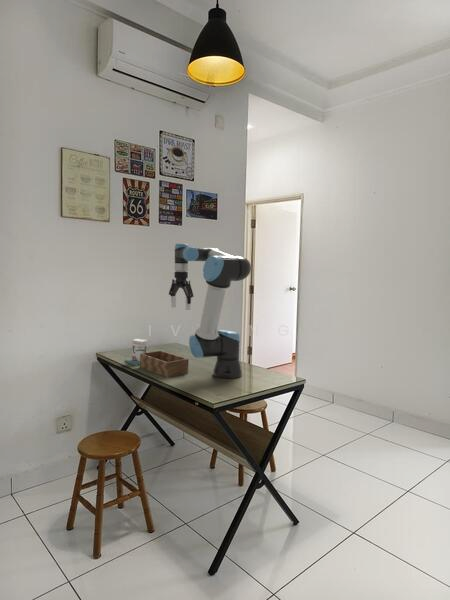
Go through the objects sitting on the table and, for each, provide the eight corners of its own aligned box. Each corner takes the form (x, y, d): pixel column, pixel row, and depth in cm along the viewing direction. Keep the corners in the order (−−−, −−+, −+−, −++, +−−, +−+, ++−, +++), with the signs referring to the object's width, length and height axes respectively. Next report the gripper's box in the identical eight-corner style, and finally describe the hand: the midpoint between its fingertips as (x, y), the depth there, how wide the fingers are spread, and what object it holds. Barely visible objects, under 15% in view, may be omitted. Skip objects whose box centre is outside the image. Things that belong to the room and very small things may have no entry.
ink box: (131, 360, 241) (131, 339, 239) (137, 358, 245) (137, 338, 244) (143, 362, 236) (143, 341, 235) (148, 360, 241) (149, 340, 240)
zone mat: (154, 362, 241) (154, 360, 241) (135, 365, 233) (135, 363, 233) (143, 358, 250) (143, 356, 250) (125, 361, 242) (125, 359, 242)
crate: (188, 372, 221) (188, 358, 220) (166, 377, 211) (167, 362, 211) (160, 363, 239) (160, 350, 239) (140, 367, 230) (140, 353, 229)
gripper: (200, 272, 230) (199, 310, 232) (173, 270, 248) (173, 306, 250) (189, 272, 225) (188, 311, 227) (163, 270, 243) (162, 306, 245)
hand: (180, 308), depth 238 cm, fingers open, 13 cm apart
